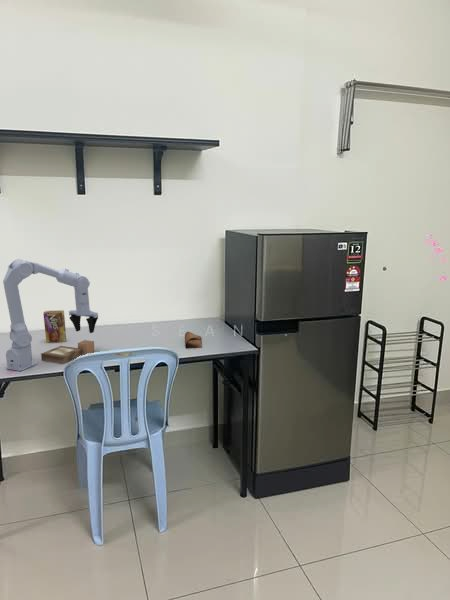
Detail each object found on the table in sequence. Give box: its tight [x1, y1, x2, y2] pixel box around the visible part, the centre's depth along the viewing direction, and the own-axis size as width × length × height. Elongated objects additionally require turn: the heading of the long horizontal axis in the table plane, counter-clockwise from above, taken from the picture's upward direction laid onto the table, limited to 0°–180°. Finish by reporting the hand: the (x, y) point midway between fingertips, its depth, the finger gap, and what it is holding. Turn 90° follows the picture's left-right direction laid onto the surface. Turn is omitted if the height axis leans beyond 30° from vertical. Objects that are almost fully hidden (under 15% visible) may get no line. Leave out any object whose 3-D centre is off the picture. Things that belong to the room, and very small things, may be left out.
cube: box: [77, 339, 96, 355], centre depth 202 cm, size 5×5×5 cm
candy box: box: [43, 309, 67, 344], centre depth 217 cm, size 9×4×15 cm, turn 96°
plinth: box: [40, 345, 84, 365], centre depth 195 cm, size 12×12×3 cm
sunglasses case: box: [184, 331, 203, 350], centre depth 216 cm, size 18×7×7 cm
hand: (85, 331), depth 200 cm, fingers open, 7 cm apart
